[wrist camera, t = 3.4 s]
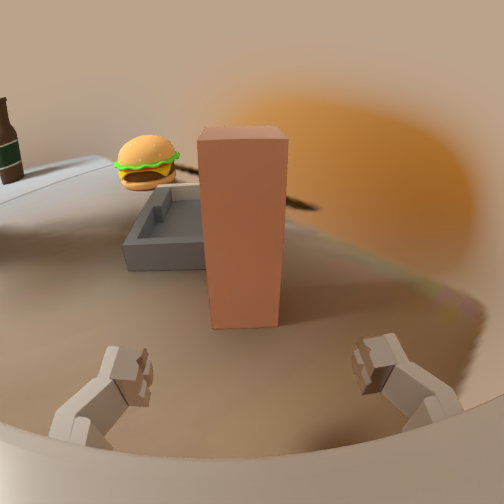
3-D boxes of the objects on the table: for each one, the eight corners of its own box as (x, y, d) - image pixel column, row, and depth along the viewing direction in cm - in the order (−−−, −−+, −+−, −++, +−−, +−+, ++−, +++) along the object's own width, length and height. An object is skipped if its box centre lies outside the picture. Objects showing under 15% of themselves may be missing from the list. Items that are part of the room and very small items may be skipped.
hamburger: (126, 175, 58) (122, 134, 54) (184, 170, 60) (181, 128, 55) (109, 197, 48) (101, 148, 44) (177, 191, 49) (173, 139, 45)
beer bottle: (5, 179, 67) (-7, 102, 55) (27, 172, 70) (15, 94, 58) (-2, 187, 61) (-16, 103, 49) (21, 179, 64) (9, 94, 52)
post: (277, 326, 24) (288, 139, 16) (212, 329, 23) (197, 140, 16) (270, 287, 28) (276, 125, 21) (214, 289, 28) (204, 127, 20)
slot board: (230, 268, 30) (229, 241, 29) (128, 271, 30) (122, 245, 28) (229, 200, 45) (229, 181, 44) (159, 203, 45) (157, 184, 43)
